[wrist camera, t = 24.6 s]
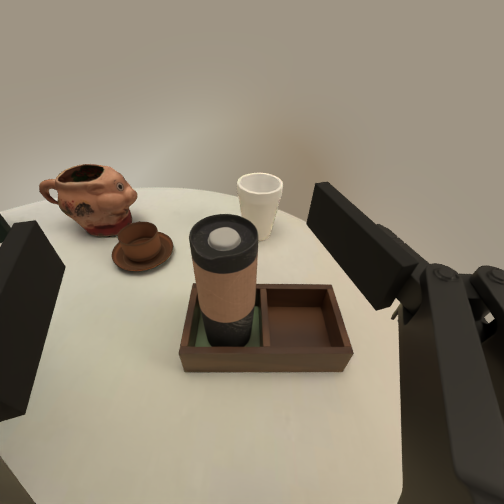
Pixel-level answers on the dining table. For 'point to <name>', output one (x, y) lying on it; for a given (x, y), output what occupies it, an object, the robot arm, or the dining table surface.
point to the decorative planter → (93, 198)
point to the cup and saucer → (141, 247)
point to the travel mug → (225, 277)
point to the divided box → (275, 334)
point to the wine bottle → (3, 229)
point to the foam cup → (260, 200)
